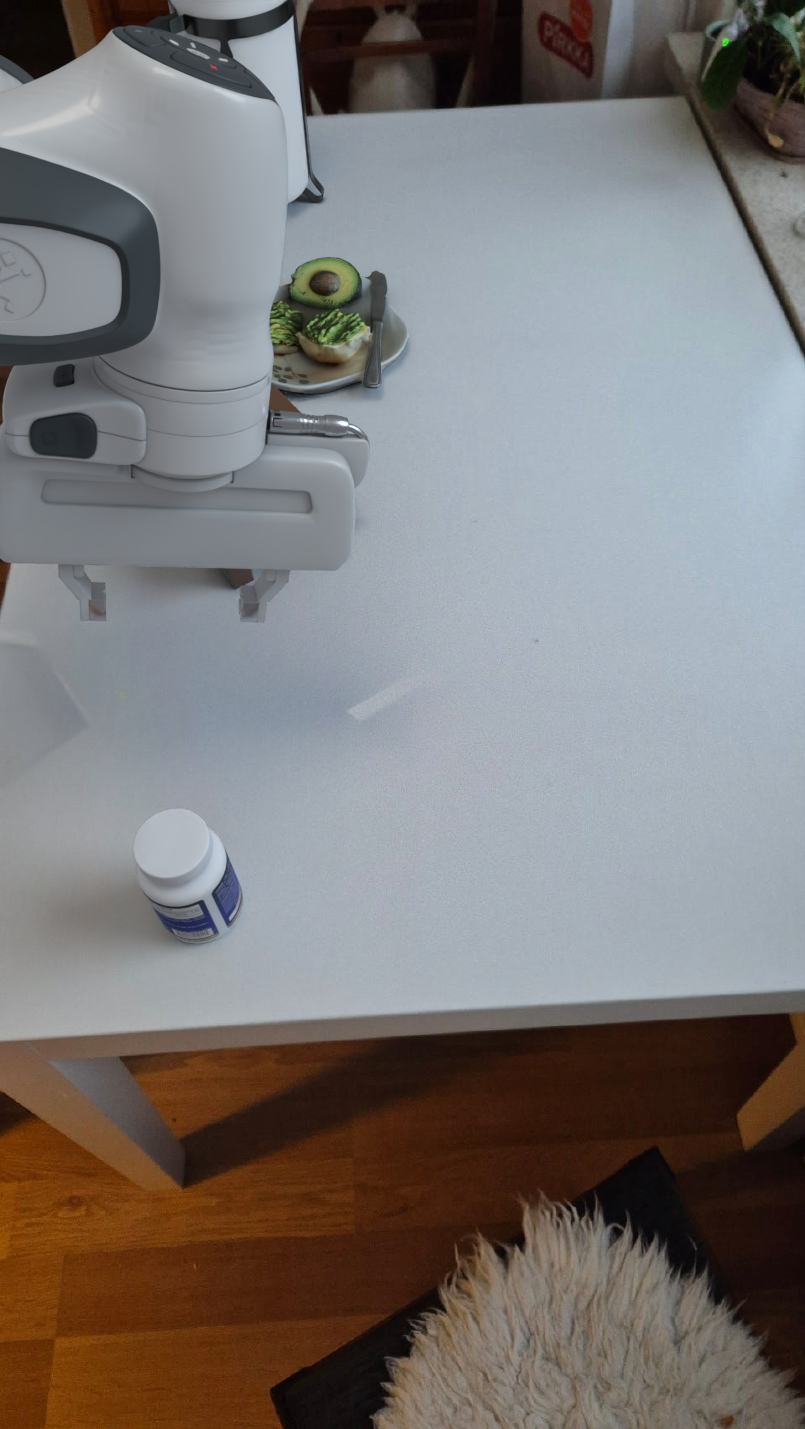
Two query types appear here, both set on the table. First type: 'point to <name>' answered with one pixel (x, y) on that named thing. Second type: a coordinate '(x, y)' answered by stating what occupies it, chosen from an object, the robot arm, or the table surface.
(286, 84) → the coffee press
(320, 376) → the avocado toast plate
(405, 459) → the table surface
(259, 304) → the robot arm
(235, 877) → the pill bottle
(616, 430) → the table surface
